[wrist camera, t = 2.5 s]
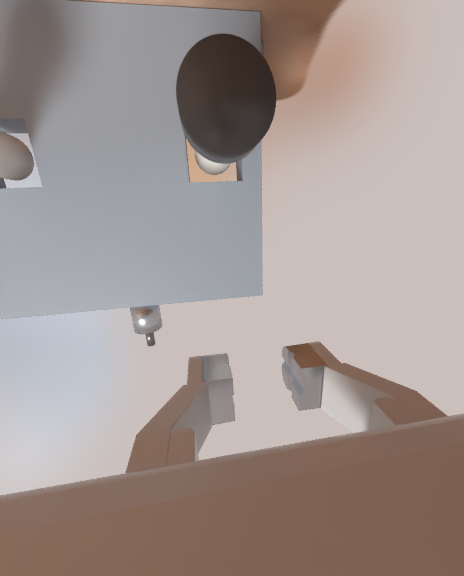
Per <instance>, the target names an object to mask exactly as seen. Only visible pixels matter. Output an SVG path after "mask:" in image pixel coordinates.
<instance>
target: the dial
mask: <svg viewBox="0 0 464 576" xmlns="http://www.w3.org/2000/svg"><path fill="white" fill-rule="evenodd" d="M130 311H131V316H132V321H133V326H134V331H135V333H138V334H146V339H147V345H148V346H153V345H155V339H154V333H153V332H155V331H157V330H159V329H160V328H161V327H162V321H161V314H160V307H159V305H151V306H140V307H130Z"/></svg>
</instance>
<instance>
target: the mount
mask: <svg viewBox="0 0 464 576" xmlns="http://www.w3.org/2000/svg"><path fill="white" fill-rule="evenodd" d="M223 33H225V34H232V35H235V36H239V37H241V38H243V39H245V40H246V41H248V42H249V43H251V44H252V45H253V46H254V47H255V48H257V50H258V51H259V52H260V53H261V54H262V56H263V42H261V30H260V12H258V11H241V10H224V9H207V8H190V7H172V6H155V5H138V4H121V3H104V2H87V1H70V0H0V131H2V132H4V133H28V134H29V138H30V142H31V145H32V149H33V153H34V156H35V160H36V164H37V167H38V171H39V175H40V179H41V182H42V186H43V187H36V188H35V187H34V188H6V185H5V182H4V179H3V178H0V317H1V319H10V318H21V317H32V316H43V315H54V314H65V313H76V312H86V311H96V310H108V309H118V308H130V307H140V306H151V305H162V304H172V303H183V302H194V301H205V300H216V299H227V298H238V297H249V296H259V295H262V290H263V289H262V176H261V175H262V161H261V141H260V142H259V143H258V144H257V146H256V147H255V148H254V149H253V151H252V152H251V153H250V154H249V155H247V156H246V157H245V158H243V159H241V160H239V161H237V162H236V168H237V181H227V182H195V183H190V178H189V167H188V158H187V146H186V136H185V134H184V132H183V129H182V125H181V121H180V116H179V110H178V105H177V98H176V82H177V76H178V72H179V68H180V65H181V63H182V61H183V59H184V57H185V56H186V54H187V52H188V51H189V50H190V49H191V48H192V46H194V45H195V44H196V43H197V42H198V41H200V40H202V39H203V38H205V37H208V36H210V35H214V34H223Z"/></svg>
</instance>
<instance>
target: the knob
mask: <svg viewBox="0 0 464 576" xmlns="http://www.w3.org/2000/svg"><path fill="white" fill-rule="evenodd" d="M176 98H177V105H178V110H179V116H180V121H181V125H182V129H183V132H184V134H185V136H186V138H187V140H188V142H189V143H190V145H191V146H192V147H193V148H194V149H195V158H196V161H197V163H198V165H199V167H200V168H201V169H202V170H203V171H204V172H206V173H208V174H212V175H218V174H221V173H223V172H224V171H225V170H226V169H227V168H228V167H229V165H230V164H231V163H233V162H237V161H239V160H241V159H243V158H245V157H246V156H247V155H249V154H250V153H251V152H252V151H253V149H254V148H255V147H256V146H257V144H258V143H259V142H260V141H261V139H262V138H263V137H264V136H265V134H266V133H267V131H268V129H269V127H270V125H271V123H272V120H273V116H274V113H275V107H276V89H275V83H274V79H273V75H272V73H271V70H270V68H269V66H268V64H267V62H266V60H265V59H264V57H263V56H262V54H261V53H260V52H259V51H258V50H257V48H255V47H254V46H253V45H252V44H251V43H249V42H248V41H246V40H245V39H243V38H241V37H239V36H235V35H232V34H225V33H223V34H214V35H210V36H208V37H205V38H203V39H202V40H200V41H198V42H197V43H196V44H195V45H194V46H192V48H191V49H190V50H189V51H188V52H187V54H186V56H185V57H184V59H183V61H182V63H181V65H180V68H179V72H178V76H177V82H176Z"/></svg>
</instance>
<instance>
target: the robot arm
mask: <svg viewBox="0 0 464 576" xmlns="http://www.w3.org/2000/svg"><path fill="white" fill-rule="evenodd" d="M282 356H283V358H284V360H285V362H284V363H283V364H282V374H283V379H284V382H285V385H286V387H287V389H289V390H290V391H292V398H293V400H294V402H295V404H296V406H297V408H298V410H307V409H315V408H321V409H322V410H323V411H324V412H326V413H327V414H329V415H330V416H331V417H333V418H334V419H335V420H337V421H338V422H340V423H341V424H342V425H344V426H345V427H346V428H348V429H349V430H350V431H352V432H353V433H351V434H345V435H340V436H334V437H329V438H323V439H318V440H312V441H306V442H301V443H295V444H290V445H283V446H278V447H273V448H267V449H261V450H255V451H250V452H244V453H238V454H233V455H227V456H222V457H216V458H211V459H205V460H198V453H199V451H200V449H201V447H202V445H203V443H204V441H205V439H206V437H207V435H208V433H209V431H210V429H211V427H212V425H215V424H220V423H225V422H230V421H235V411H234V402H233V379H232V373H231V368H230V366H229V361H228V355H227V353H225V354H216V355H206V356H203V357H202V356H197V357H190V358H189V363H188V378H187V385H183V386H182V387H181V388H180V389H179V390H178V391H177V392H176V394H175V395H174V396H173V397H172V398H171V399H170V400H169V401H168V402H167V403H166V404H165V405H164V406H163V407H162V408H161V409H160V410H159V412H158V413H157V414H156V415H155V416H154V417H153V418H152V419H151V420H150V421H149V422H148V423H147V424H146V426H144V428H143V429H142V430H141V431H140V432H139V433H138V434H137V435H136V438H135V442H134V446H133V449H132V452H131V456H130V459H129V463H128V466H127V469H126V473H125V474H120V475H114V476H109V477H103V478H97V479H92V480H86V481H80V482H75V483H69V484H64V485H58V486H52V487H46V488H41V489H36V490H30V491H24V492H18V493H13V494H7V495H1V496H0V576H464V414H459V415H453V416H447V415H446V414H444V413H443V412H442V411H441V410H439V409H438V408H437V407H436V406H434V405H433V404H432V403H431V402H429V401H428V400H427V399H426V398H424V397H423V396H422V395H420V394H419V393H418V392H417V391H415V390H412V389H410V388H407V387H405V386H402V385H400V384H397V383H394V382H392V381H389V380H387V379H384V378H382V377H379V376H377V375H374V374H372V373H369V372H367V371H364V370H361V369H359V368H356V367H354V366H351V365H349V364H346V363H343V364H341V363H340V362H339V361H338V360H337V359H336V358H335V357H334V355H332V353H331V352H330V351H328V349H326V348H325V346H324V345H322V343H321V342H318V341H317V342H312V343H306V344H300V345H292V346H285V347H283V350H282Z"/></svg>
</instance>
